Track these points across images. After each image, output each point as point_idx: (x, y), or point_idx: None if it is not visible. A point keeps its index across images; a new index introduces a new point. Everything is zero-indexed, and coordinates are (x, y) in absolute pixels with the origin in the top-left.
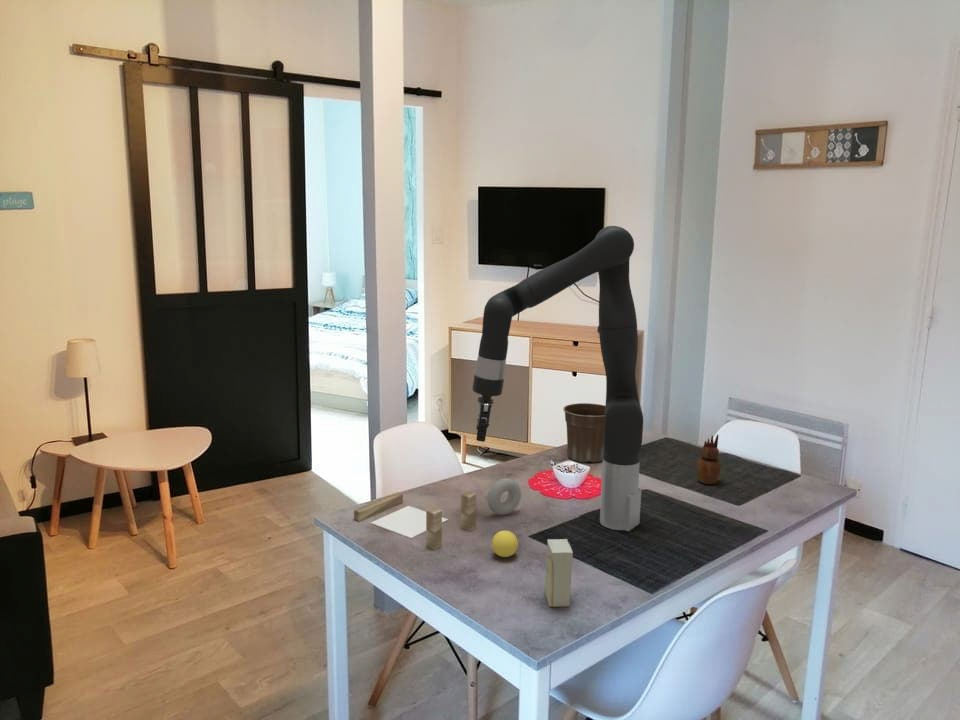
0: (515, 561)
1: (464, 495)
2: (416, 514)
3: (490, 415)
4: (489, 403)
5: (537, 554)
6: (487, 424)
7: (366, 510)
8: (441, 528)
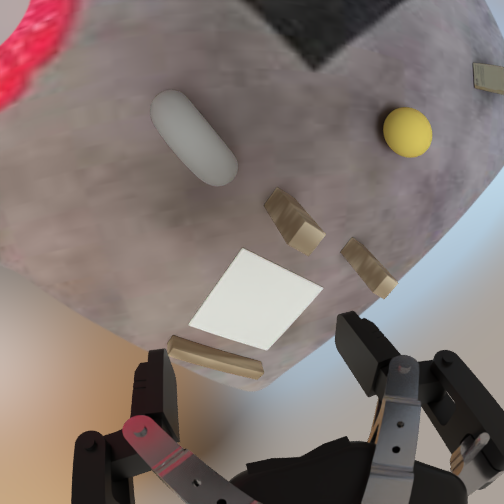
0: None
1: (314, 248)
2: (225, 305)
3: (418, 415)
4: (466, 489)
5: (388, 67)
6: (458, 364)
7: (251, 368)
8: (368, 254)
